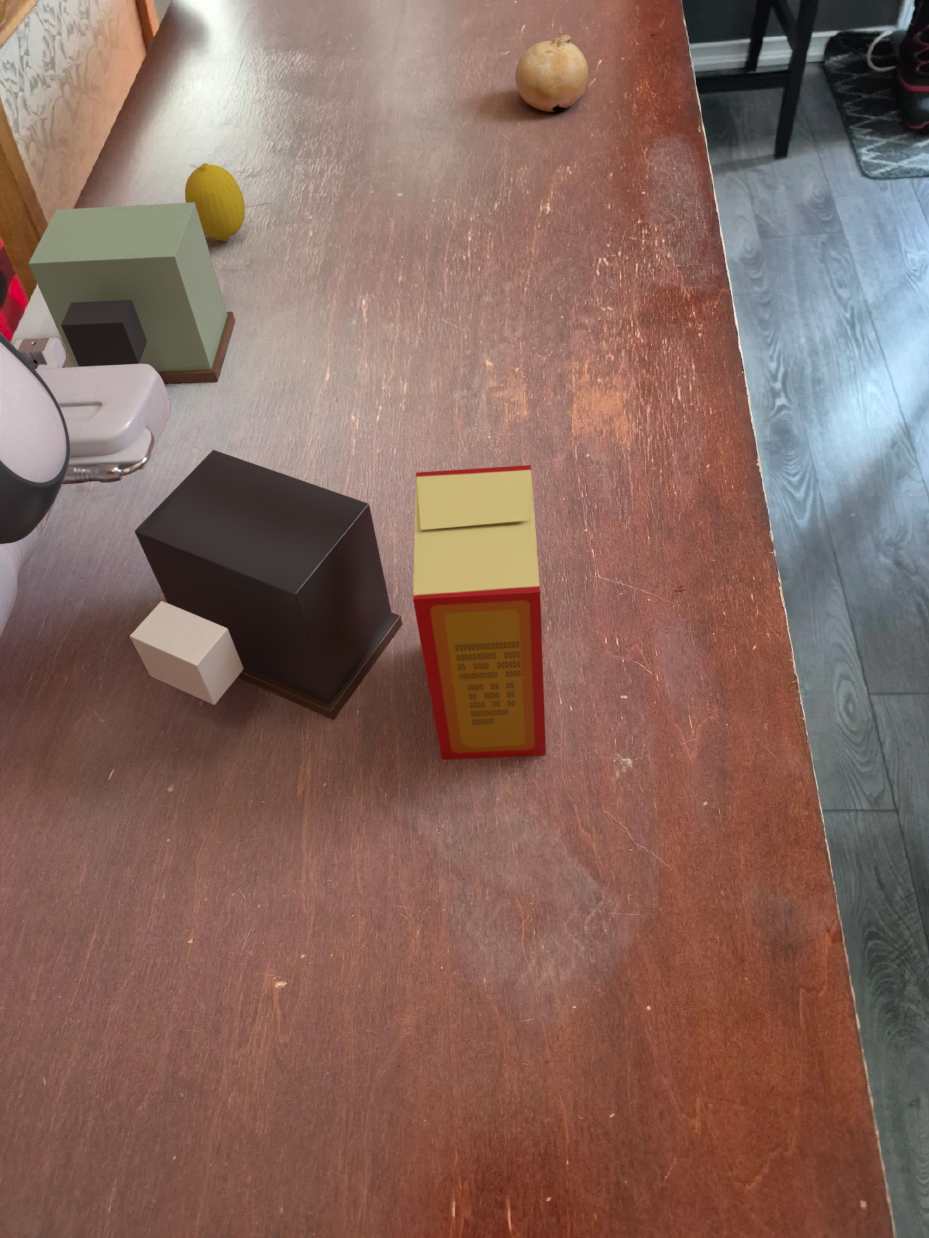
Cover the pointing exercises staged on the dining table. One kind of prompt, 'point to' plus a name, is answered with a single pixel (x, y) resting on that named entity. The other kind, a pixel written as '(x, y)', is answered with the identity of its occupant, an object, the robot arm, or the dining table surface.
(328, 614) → the black key block
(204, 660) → the white rectangular block
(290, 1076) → the dining table surface
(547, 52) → the onion
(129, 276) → the green key block
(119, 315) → the dark brown block
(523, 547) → the baking soda box
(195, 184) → the lemon
